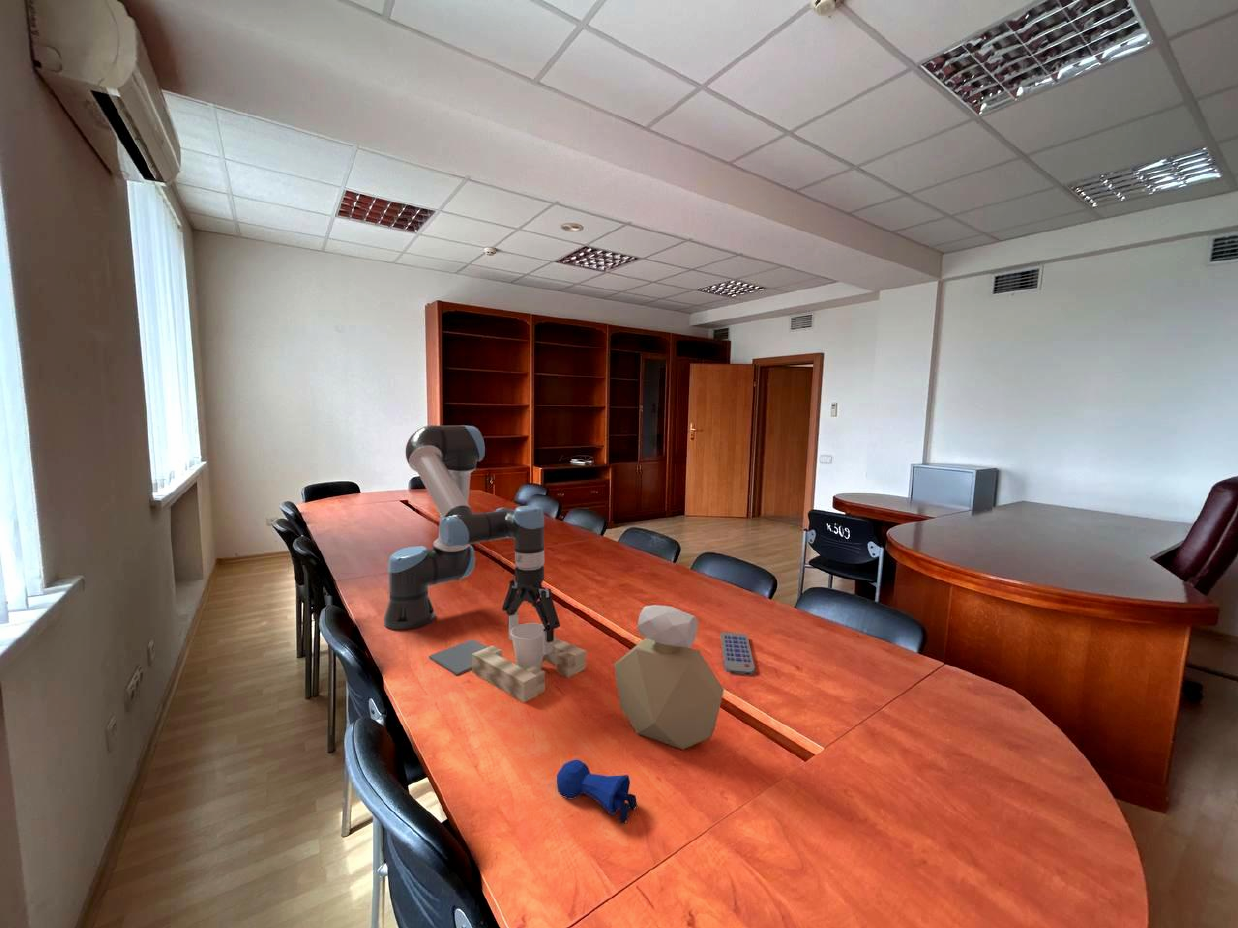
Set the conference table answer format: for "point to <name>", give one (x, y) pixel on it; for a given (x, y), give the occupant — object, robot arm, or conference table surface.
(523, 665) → the cup
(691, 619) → the perfume bottle
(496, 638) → the conference table surface
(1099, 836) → the conference table surface
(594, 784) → the toy
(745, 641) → the remote control
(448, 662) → the coaster
